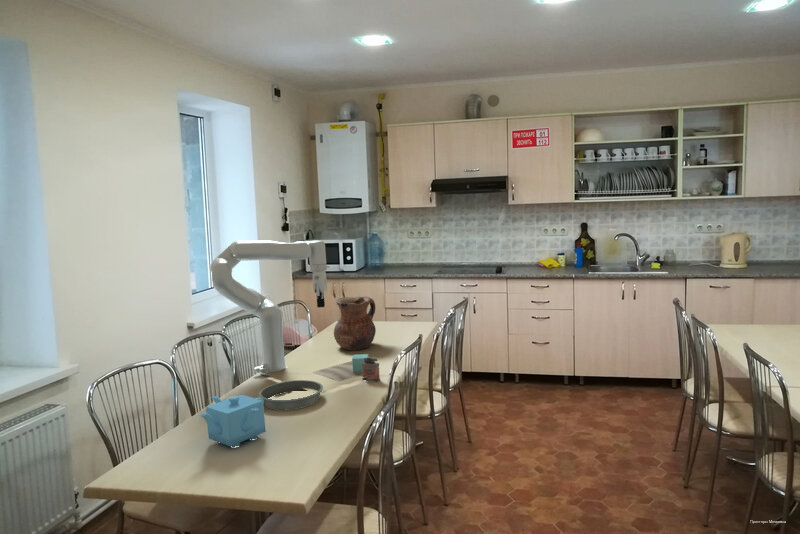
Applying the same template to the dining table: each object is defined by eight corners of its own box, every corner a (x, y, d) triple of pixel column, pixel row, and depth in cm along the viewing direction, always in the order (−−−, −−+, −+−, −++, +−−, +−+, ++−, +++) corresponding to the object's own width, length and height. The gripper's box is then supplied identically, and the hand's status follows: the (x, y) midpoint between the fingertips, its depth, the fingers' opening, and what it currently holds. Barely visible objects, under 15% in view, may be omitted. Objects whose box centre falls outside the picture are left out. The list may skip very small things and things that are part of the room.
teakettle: (268, 427, 212) (265, 386, 210) (262, 449, 194) (258, 404, 192) (212, 432, 210) (208, 391, 208) (201, 455, 192) (196, 410, 190)
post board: (339, 384, 254) (338, 370, 253) (312, 375, 269) (311, 362, 268) (380, 372, 268) (379, 358, 268) (352, 364, 283) (351, 351, 282)
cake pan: (333, 391, 247) (332, 380, 246) (308, 413, 224) (307, 401, 223) (277, 389, 254) (276, 378, 253) (248, 410, 230) (247, 399, 229)
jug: (357, 354, 299) (353, 304, 296) (325, 349, 311) (322, 301, 308) (385, 344, 316) (382, 296, 313) (354, 339, 329) (351, 293, 326)
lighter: (361, 380, 258) (359, 357, 257) (365, 378, 261) (363, 355, 260) (377, 382, 254) (376, 359, 253) (381, 380, 257) (380, 356, 256)
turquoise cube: (352, 372, 265) (352, 358, 265) (354, 367, 272) (354, 354, 271) (367, 371, 265) (366, 358, 264) (369, 367, 271) (368, 354, 270)
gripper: (323, 269, 272) (326, 309, 275) (329, 265, 287) (331, 303, 289) (306, 270, 273) (309, 310, 275) (313, 265, 288) (316, 304, 290)
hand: (321, 306), depth 282 cm, fingers closed
